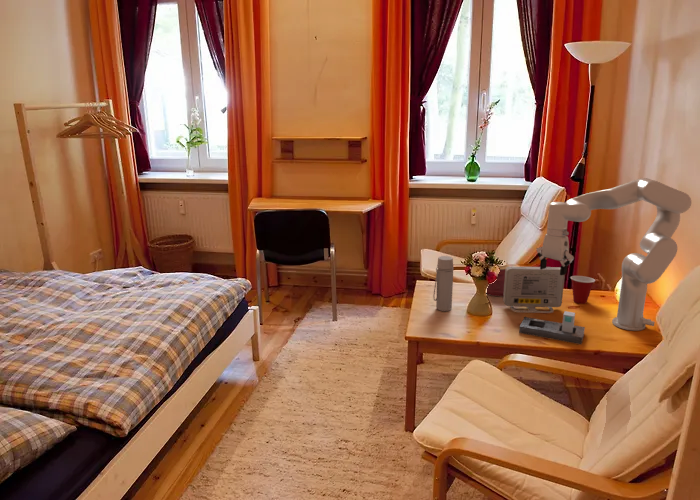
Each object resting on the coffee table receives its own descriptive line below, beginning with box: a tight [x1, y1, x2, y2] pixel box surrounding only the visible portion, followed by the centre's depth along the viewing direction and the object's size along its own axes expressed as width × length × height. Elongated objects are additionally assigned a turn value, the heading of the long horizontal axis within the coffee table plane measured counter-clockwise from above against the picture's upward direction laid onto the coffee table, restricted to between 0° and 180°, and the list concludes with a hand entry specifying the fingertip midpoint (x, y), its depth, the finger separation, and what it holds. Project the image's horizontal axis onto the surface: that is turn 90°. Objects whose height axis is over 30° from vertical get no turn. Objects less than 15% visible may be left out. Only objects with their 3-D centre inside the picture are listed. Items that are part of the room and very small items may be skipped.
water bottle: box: [432, 255, 454, 312], centre depth 236 cm, size 9×8×25 cm
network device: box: [502, 266, 566, 314], centre depth 236 cm, size 26×9×20 cm, turn 84°
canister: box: [486, 258, 510, 297], centre depth 258 cm, size 13×13×18 cm
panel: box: [518, 316, 585, 345], centre depth 213 cm, size 24×11×3 cm, turn 61°
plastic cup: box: [570, 275, 596, 305], centre depth 245 cm, size 11×11×12 cm
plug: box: [561, 310, 576, 333], centre depth 209 cm, size 4×5×10 cm
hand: (552, 271), depth 215 cm, fingers open, 9 cm apart
